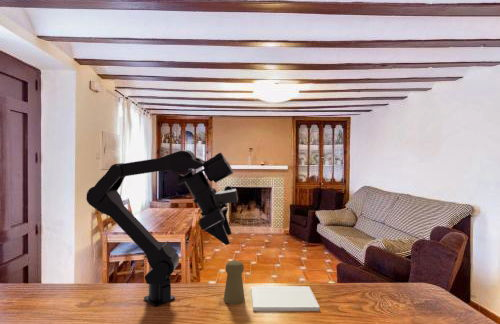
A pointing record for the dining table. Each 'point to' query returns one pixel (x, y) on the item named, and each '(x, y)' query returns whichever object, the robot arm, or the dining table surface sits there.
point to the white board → (283, 298)
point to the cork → (234, 283)
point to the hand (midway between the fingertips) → (229, 239)
